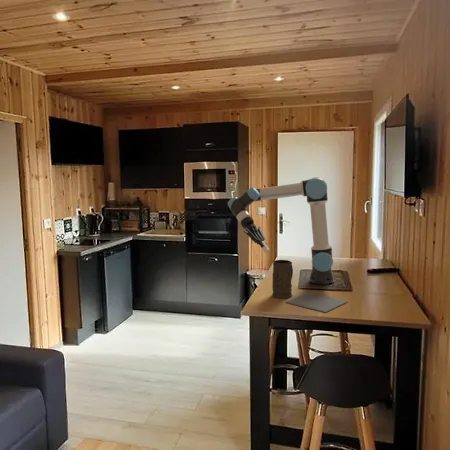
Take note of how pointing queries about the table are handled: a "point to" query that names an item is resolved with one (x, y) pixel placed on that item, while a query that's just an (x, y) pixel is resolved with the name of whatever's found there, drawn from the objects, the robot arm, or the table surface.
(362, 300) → the table surface
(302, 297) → the mat
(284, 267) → the beer stein
